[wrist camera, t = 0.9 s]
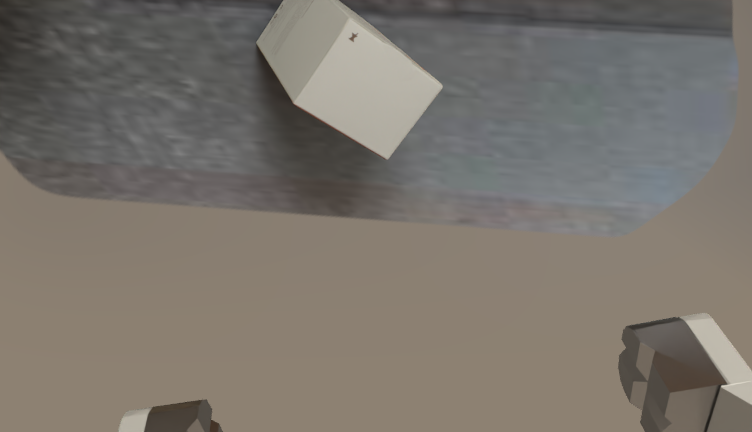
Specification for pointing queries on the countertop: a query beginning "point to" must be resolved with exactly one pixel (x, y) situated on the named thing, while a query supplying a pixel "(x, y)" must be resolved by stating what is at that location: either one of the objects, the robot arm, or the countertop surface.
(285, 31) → the small box
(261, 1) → the countertop surface
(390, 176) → the countertop surface
